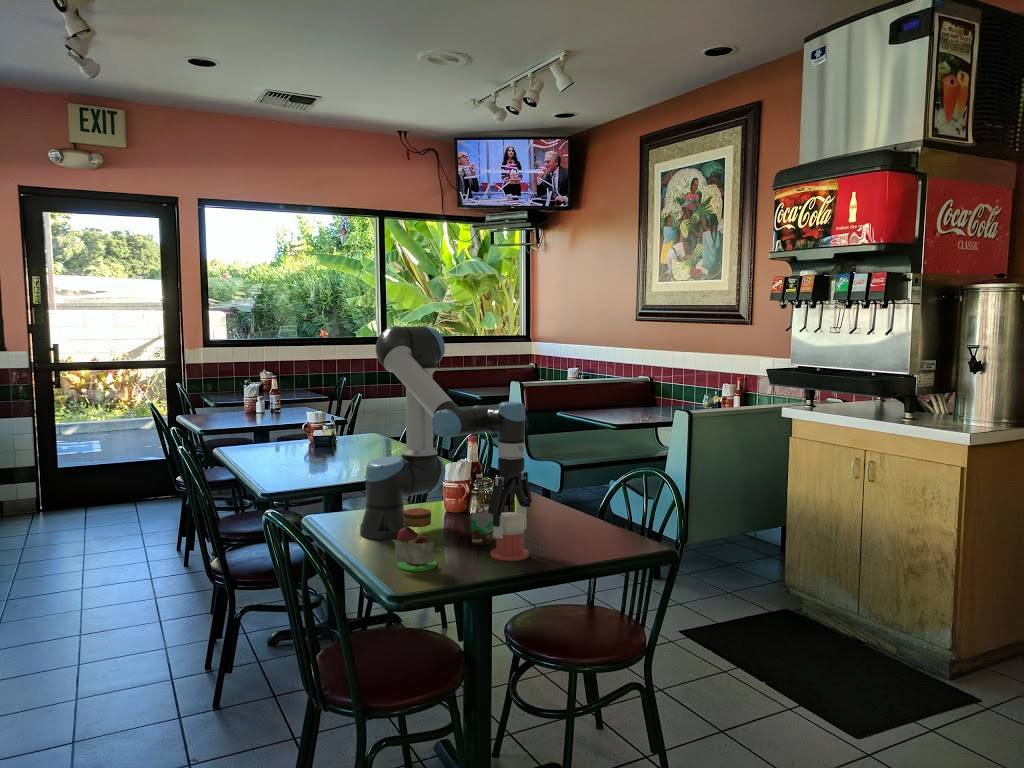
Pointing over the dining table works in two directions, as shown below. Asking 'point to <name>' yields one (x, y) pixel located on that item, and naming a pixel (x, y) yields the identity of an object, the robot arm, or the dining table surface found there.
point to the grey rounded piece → (513, 523)
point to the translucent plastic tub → (418, 552)
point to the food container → (482, 526)
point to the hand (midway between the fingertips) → (510, 533)
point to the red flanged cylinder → (510, 548)
